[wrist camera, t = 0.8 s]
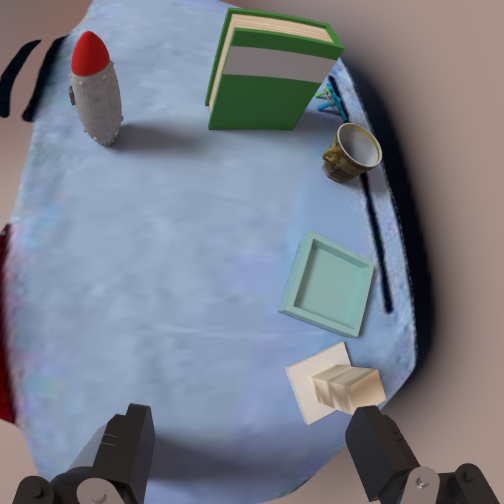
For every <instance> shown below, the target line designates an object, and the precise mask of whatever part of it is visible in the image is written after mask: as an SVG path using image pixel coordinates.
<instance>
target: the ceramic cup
mask: <svg viewBox="0 0 504 504" xmlns="http://www.w3.org/2000/svg"><path fill="white" fill-rule="evenodd" d="M322 158H323V159H324V161H323V164H322V168H323V170H324V172H325V174H326V175H327V177H329V178H330V179H332V180H334V181H336V182H338V183H340V182H344V181H348V180H350V179H352V178H354V177H356V176H358V175H359V174H361V173H364V172H366V171H369V170H371V169H373V168H374V167H376V166H377V165H379V164H380V162H381V159H382V151H381V148H380V145H379V143H378V141H377V140H376V138H375V137H374V136H373V135H372V134H371V133H370V132H369V131H368V130H367V129H365V128H364V127H362V126H360V125H357V124H354V123H346V124H343V125H341V126H340V127H339V129H338V131H337V132H336V134H335V136H334V139H333V142H332V144H331V146H330V148H329V150H328V151H326V152H325V153H324V154H323V156H322Z"/></svg>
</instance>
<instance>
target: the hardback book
mask: <svg viewBox="0 0 504 504" xmlns="http://www.w3.org/2000/svg"><path fill="white" fill-rule="evenodd" d="M344 49H345V48H344V47H343V45H342V44H341V42H340V41H339V39H338V37H337V36H336V34H335V33H334V31H333V30H332V28H331V27H330V25H329V24H325V23H321V22H317V21H313V20H309V19H304V18H299V17H294V16H289V15H284V14H277V13H272V12H265V11H257V10H248V9H240V8H228V11H227V14H226V18H225V21H224V25H223V29H222V32H221V36H220V40H219V44H218V48H217V52H216V56H215V60H214V64H213V69H212V73H211V77H210V82H209V86H208V91H207V95H206V100H205V106H210V113H211V116H210V121H209V125H208V128H209V129H275V130H292V129H293V128H294V126H295V124H296V123H297V121H298V120H299V118H300V117H301V115H302V113H303V112H304V110H305V109H306V107H307V106H308V104H309V102H310V101H311V99H312V98H313V96H314V95H315V93H316V92H317V90H318V88H319V87H320V85H321V84H322V82H323V81H324V79H325V78H326V76H327V75H328V73H329V71H330V70H331V68H332V67H333V65H334V64H335V62H336V61H337V59H338V58H339V56H340V55H341V53H342V52H343V50H344Z"/></svg>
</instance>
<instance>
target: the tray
mask: <svg viewBox="0 0 504 504" xmlns="http://www.w3.org/2000/svg"><path fill="white" fill-rule="evenodd" d="M374 264H375V263H374V262H372V261H370V260H368V259H366V258H364V257H362V256H360V255H358V254H356V253H354V252H352V251H350V250H348V249H346V248H344V247H342V246H340V245H338V244H336V243H334V242H332V241H330V240H328V239H326V238H324V237H322V236H320V235H318V234H315V233H313V232H311V231H309V232H308V233H306V234H305V235H304V236H302V237H301V241H300V244H299V247H298V250H297V254H296V257H295V260H294V263H293V266H292V269H291V273H290V276H289V279H288V282H287V285H286V288H285V291H284V294H283V297H282V300H281V303H280V306H279V309H278V312H280V313H283V314H285V315H288V316H290V317H293V318H296V319H298V320H301V321H304V322H306V323H309V324H312V325H314V326H317V327H320V328H322V329H325V330H328V331H331V332H333V333H336V334H339V335H342V336H345V337H358V334H359V330H360V326H361V322H362V318H363V314H364V310H365V306H366V301H367V297H368V293H369V288H370V284H371V279H372V274H373V269H374Z"/></svg>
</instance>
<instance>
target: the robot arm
mask: <svg viewBox="0 0 504 504" xmlns="http://www.w3.org/2000/svg"><path fill="white" fill-rule="evenodd" d="M345 439H346V444H347V446H348V449H349V451H350V454H351V456H352V459H353V461H354V464H355V466H356V468H357V471H358V474H359V476H360V479H361V482H362V484H363V486H364V489H365V492H366V494H367V497H368V499H369V502H372V501H376V500H380V502H381V504H500V503H499V502H498V500H497V498H496V496H495V494H494V493H493V491H492V489H491V487H490V486H489V484H488V482H487V481H486V479H485V477H484V475H483V474H482V472H481V470H480V469H479V468H478V467H477V466H476V465H473V464H470V463H467V464H463V465H461V466H459V467H458V469H457V470H456V471H455V472H452V473H440V474H438V473H436V472H435V471H434V470H433V469H431V468H428V467H421V466H420V464H419V463H418V461H417V459H416V457H415V456H414V454H413V452H412V450H411V449H410V447H409V445H408V444H407V442H406V440H404V437H403V435H402V433H400V430H399V428H398V426H397V425H396V423H395V422H394V421H393V420H392V419H390V418H389V417H388V416H387V415H382V414H381V412H380V410H379V409H378V407H377V406H376V405H370V406H363V407H357V408H356V410H355V412H354V414H353V417H352V419H351V421H350V423H349V426H348V428H347V430H346V434H345ZM154 440H155V432H154V425H153V420H152V414H151V408H150V406H145V405H139V404H132V403H131V404H130V405H129V407H128V410H127V413H126V416H125V415H119V414H116V415H115V416H114V417H113V418H112V419H111V420H110V421H109V422H108V423H107V425H104V426H103V427H101V428H100V429H98V430H97V432H96V433H95V434H94V435H93V437H92V438H91V439H90V441H89V442H88V443H87V445H86V446H85V447H84V448H83V450H82V451H81V452H80V454H79V455H78V456H77V458H76V459H75V460H74V462H73V463H72V464H71V466H70V467H69V469H68V470H67V471H66V473H62V474H59V475H57V476H56V477H55V478H54V479H53V480H52V481H51V482H50V483H49V482H48V481H47V480H45V479H44V478H42V477H39V476H28V477H26V478H24V479H23V480H22V481H21V482H20V484H19V486H18V489H17V492H16V495H15V498H14V500H13V503H12V504H143V503H144V497H145V491H146V485H147V479H148V473H149V468H150V463H151V457H152V452H153V447H154Z"/></svg>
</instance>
